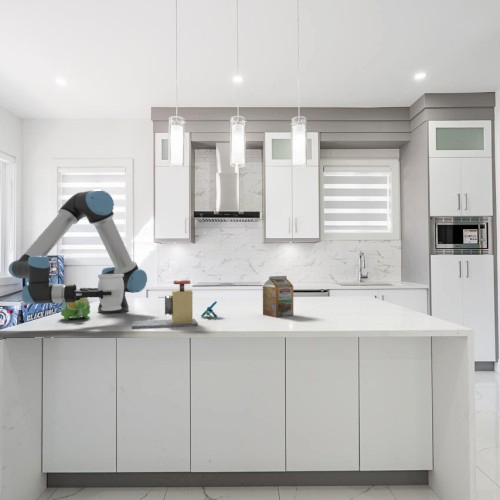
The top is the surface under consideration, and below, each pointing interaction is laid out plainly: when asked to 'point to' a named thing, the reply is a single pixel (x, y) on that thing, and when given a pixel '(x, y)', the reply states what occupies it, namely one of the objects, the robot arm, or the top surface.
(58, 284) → the robot arm
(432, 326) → the top surface
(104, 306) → the jar
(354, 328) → the top surface
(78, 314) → the turtle holder
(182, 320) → the valve fitting
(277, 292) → the milk carton
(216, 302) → the teal toy telescope
